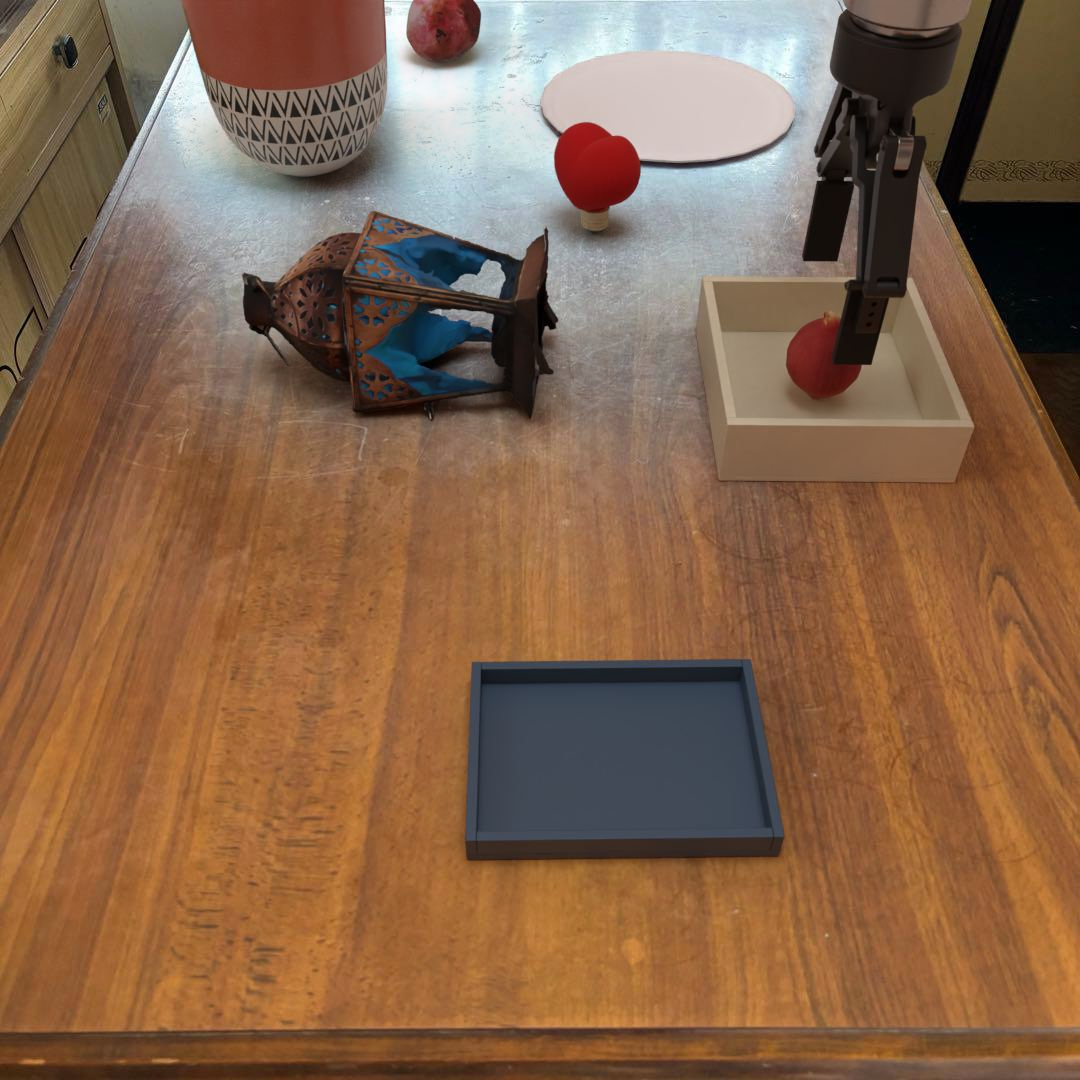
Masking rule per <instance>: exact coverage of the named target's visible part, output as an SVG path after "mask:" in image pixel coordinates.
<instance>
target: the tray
mask: <svg viewBox="0 0 1080 1080" xmlns="http://www.w3.org/2000/svg"><path fill="white" fill-rule="evenodd" d="M470 668H471V669H470V695H469V721H468V722H469V724H468V748H467V749H468V750H467V751H468V752H467V778H466V779H467V780H466V804H465V805H466V806H465V807H466V808H465V833H464V843H465V853H466V860H467V861H481V860H483V861H484V860H485V861H486V860H556V859H557V860H559V859H560V860H561V859H564V860H565V859H567V860H569V859H638V858H639V859H640V858H643V859H645V858H646V859H647V858H715V857H719V858H720V857H724V858H726V857H778V856H780V853H781V849H782V846H783V844H784V840H785V837H786V836H785V830H784V825H783V820H782V814H781V810H780V803H779V799H778V794H777V793H778V792H777V788H776V783H775V777H774V772H773V767H772V762H771V757H770V751H769V746H768V741H767V737H766V730H765V725H764V719H763V716H762V715H763V714H762V711H761V710H762V709H761V704H760V701H759V694H758V689H757V684H756V677H755V673H754V672H755V671H754V669H753V662H752V659H751V658H742V659H741V658H715V659H714V658H712V659H710V658H709V659H705V658H703V659H621V660H619V659H611V660H605V659H604V660H603V659H602V660H523V661H522V660H521V661H519V660H518V661H517V660H516V661H515V660H513V661H510V660H509V661H471V666H470Z"/></svg>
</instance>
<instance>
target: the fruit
mask: <svg viewBox="0 0 1080 1080" xmlns="http://www.w3.org/2000/svg"><path fill="white" fill-rule="evenodd" d="M481 23H482V12H481V9H480V7H479V5H478V3H476V1H475V0H412V2H411V3H410V6H409V8H408V13H407V19H406V31H405V35H406V38H407V41H408V43H409V45H410V46H411V48H412V50H413V51H414V52H415V53H416V55H418V56H419V57H420V58H423V59H425V60H429V61H433V62H438V63H443V62H451V61H454V60H456V59H457V58H459V57H461V56H462V55H463V54H465V53H468V52H469V50H471V49H472V48H473V47H475V45H476V43H477V42H478V40H479V38H480V37H479V36H480V31H481Z"/></svg>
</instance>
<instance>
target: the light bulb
mask: <svg viewBox="0 0 1080 1080" xmlns="http://www.w3.org/2000/svg"><path fill="white" fill-rule="evenodd" d="M553 154H554V155H553V167H554V172H555V175H556V178H557V182H558V184H559V186H560V188H561V190H562V191H563V193H564V195H565V196H566V197H567V199H568V201H569V202H570V204H572V206H574V207H575V208H577V209H578V210H580V211H581V213H580V224H581V227H582V228H584V229H586V230H587V231H589V232H590V233H592V234H597V233H599V232H601V231H602V230H604V229H605V228H607V227H608V225H609V217H610V215H609V213H610V208H611V207H613V206H617V205H619V204H621V203H623V202H625V201H627V200H628V199H629V198H630V197H631V196H632V195H633V194H634V193H635V191H636V189H637V187H638V186H639V183H640V180H641V173H642V167H641V160H639V157H638V154H637V151H636V149H635V148H634V146H633V145H632V143H631V142H630V141H629V140H628V139H626V138H625V137H623V136H612V135H611V134H610V133H609V132H608V131H606V130H605V129H604V128H602V127H601V126H599V125H597V124H595V123H591V122H582V123H578V124H574V125H573V126H571V127H569V128H568V129H566V130H565V132H564V133H563V134H562V133H561V135H560V136H559V138H558V140H557V142H556V145H555V148H554V153H553Z"/></svg>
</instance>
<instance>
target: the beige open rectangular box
mask: <svg viewBox="0 0 1080 1080" xmlns="http://www.w3.org/2000/svg"><path fill="white" fill-rule="evenodd" d="M850 279H856V276H855V277H854V276H754V275H753V276H751V275H749V276H745V275H744V276H742V275H740V276H739V275H735V276H734V275H723V276H722V275H702V276H701V282H700V291H699V299H698V301H699V302H698V306H697V307H698V308H697V316H696V323H695V335H696V341H697V348H698V354H699V360H700V366H701V367H700V368H701V374H702V380H703V381H702V382H703V386H704V393H705V400H706V407H707V413H708V419H709V427H710V433H711V439H712V445H713V451H714V460H715V465H716V472H717V479H718V481H719V482H720V481H724V482H726V481H728V482H729V481H730V482H732V481H733V482H826V483H827V482H830V483H831V482H833V483H835V482H838V483H840V482H841V483H842V482H844V483H936V484H937V483H938V484H939V483H945V484H947V483H949V484H950V483H952V484H953V483H956V479H957V477H958V473H959V471H960V467H961V466H962V462H963V460H964V457H965V454H966V451H967V449H968V447H969V444H970V440H971V438H972V435H973V433H974V430H975V425H974V422H973V420H972V417H971V415H970V413H969V410H968V407H967V405H966V403H965V400H964V398H963V396H962V393H961V390H960V389H959V386H958V384H957V382H956V379H955V377H954V374H953V372H952V370H951V367H950V365H949V363H948V360H947V358H946V356H945V353H944V351H943V349H942V345H941V343H940V341H939V339H938V336H937V334H936V332H935V329H934V327H933V324H932V322H931V320H930V317H929V315H928V312H927V310H926V308H925V305H924V302H923V301H922V297H921V295H920V293H919V290H918V287H917V286H916V283H915V281H914V279H913V277H907V290H906V294H905V296H904V297H903V298H889V302H888V305H887V309H886V313H885V316H884V320H883V324H882V328H881V331H880V335H879V339H878V342H877V346H876V350H875V353H874V357H873V361H872V365H862V367H861V371H860V373H859V376H858V378H857V379H856V380H855V381H854V382H853V383H852V384H851V385H850V386H849V387H848V388H847V389H846V390H845V391H844V392H842V393H840V394H838V395H836V396H833V397H830V398H820V399H813V398H811V397H809V396H808V395H807V394H806V393H805V392H804V391H803V390H802V389H800V388H799V387H798V386H797V385H796V384H795V383H794V382H793V381H792V379H791V377H790V376H789V374H788V371H787V368H786V358H787V348H788V346H789V343H790V341H791V340H792V339H793V337H794V336H795V335H796V333H797V332H798V331H799V330H800V329H801V328H802V327H803V326H804V325H806V324H808V323H810V322H812V321H814V320H816V319H819V318H824V312H827V311H832V312H835V313H836V314H837V316H838V317H839V318H840V319H841V316H842V312H843V307H844V303H845V299H846V295H847V291H846V290H845V286H844V283H845V282H847V281H849V280H850Z"/></svg>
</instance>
